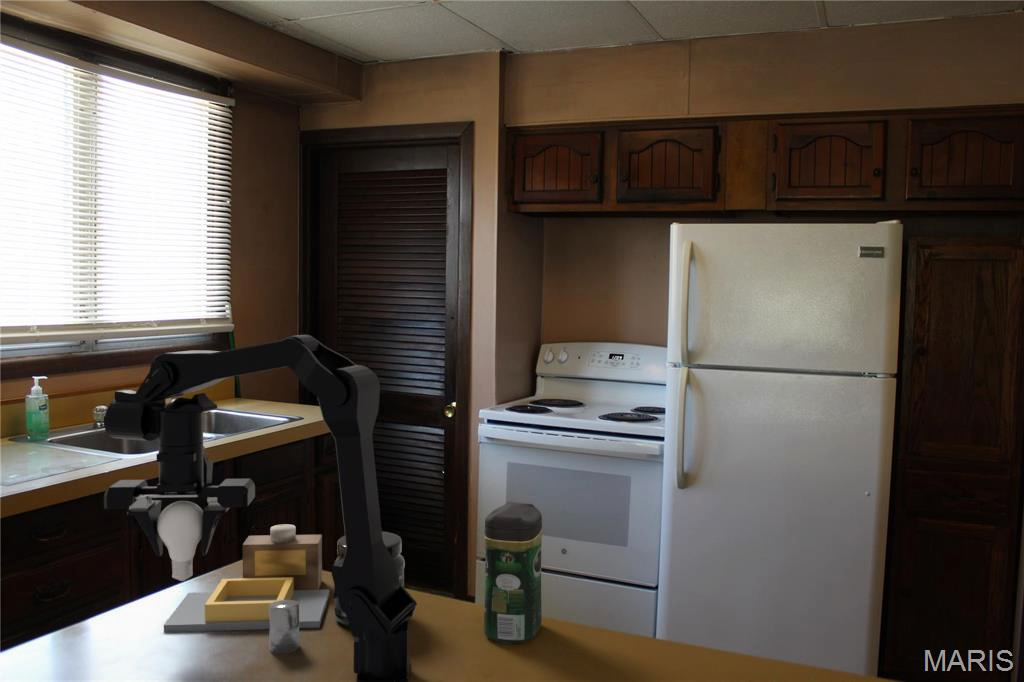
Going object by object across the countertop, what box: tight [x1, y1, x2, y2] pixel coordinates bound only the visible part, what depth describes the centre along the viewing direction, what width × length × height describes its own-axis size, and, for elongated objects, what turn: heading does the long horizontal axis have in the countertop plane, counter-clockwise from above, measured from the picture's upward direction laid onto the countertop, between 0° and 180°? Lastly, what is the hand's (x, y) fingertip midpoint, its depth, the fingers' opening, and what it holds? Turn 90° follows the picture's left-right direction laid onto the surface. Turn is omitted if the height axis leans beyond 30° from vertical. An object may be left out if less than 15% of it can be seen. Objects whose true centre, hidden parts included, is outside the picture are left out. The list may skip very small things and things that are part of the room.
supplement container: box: [333, 531, 406, 628], centre depth 129 cm, size 10×10×12 cm
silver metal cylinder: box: [268, 600, 300, 655], centre depth 118 cm, size 4×4×6 cm
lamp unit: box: [242, 523, 323, 590], centre depth 141 cm, size 12×5×10 cm, turn 96°
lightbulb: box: [157, 500, 204, 582], centre depth 118 cm, size 6×6×11 cm
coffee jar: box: [483, 501, 543, 645], centre depth 124 cm, size 10×8×19 cm
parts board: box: [163, 577, 330, 633], centre depth 130 cm, size 22×13×4 cm, turn 96°
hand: (182, 554), depth 118 cm, fingers closed on lightbulb, 6 cm apart
